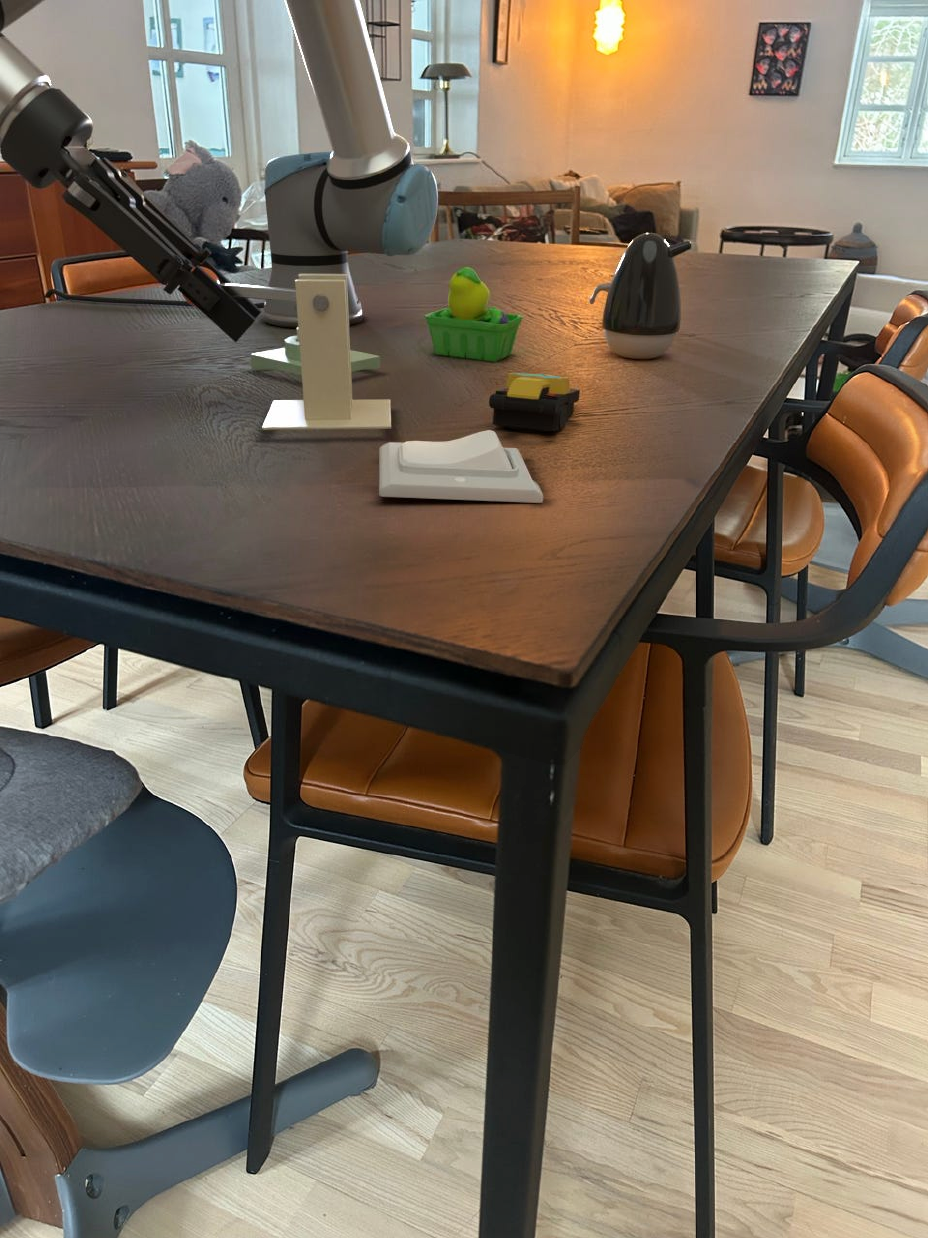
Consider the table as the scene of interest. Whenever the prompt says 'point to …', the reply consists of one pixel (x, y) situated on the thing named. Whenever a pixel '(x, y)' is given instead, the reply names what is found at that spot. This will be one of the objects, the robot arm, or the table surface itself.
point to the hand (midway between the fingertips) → (248, 326)
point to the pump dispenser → (644, 299)
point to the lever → (252, 290)
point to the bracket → (325, 364)
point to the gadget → (534, 402)
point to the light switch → (456, 470)
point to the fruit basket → (472, 322)
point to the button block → (291, 360)
